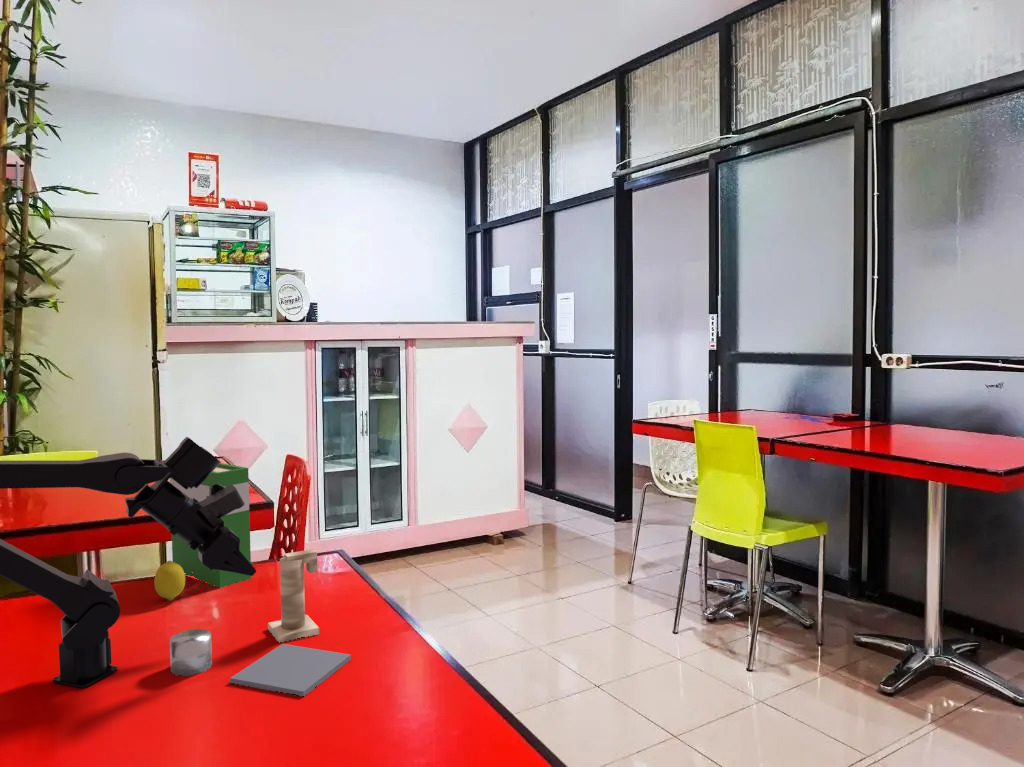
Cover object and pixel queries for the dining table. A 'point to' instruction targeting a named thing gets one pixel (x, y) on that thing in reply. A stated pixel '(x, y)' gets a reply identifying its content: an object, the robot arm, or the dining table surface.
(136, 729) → the dining table surface
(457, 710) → the dining table surface
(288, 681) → the mat
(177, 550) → the hardback book
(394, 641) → the dining table surface
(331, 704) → the dining table surface
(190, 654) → the steel tin
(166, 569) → the lemon
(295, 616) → the beige stacked pedestal
